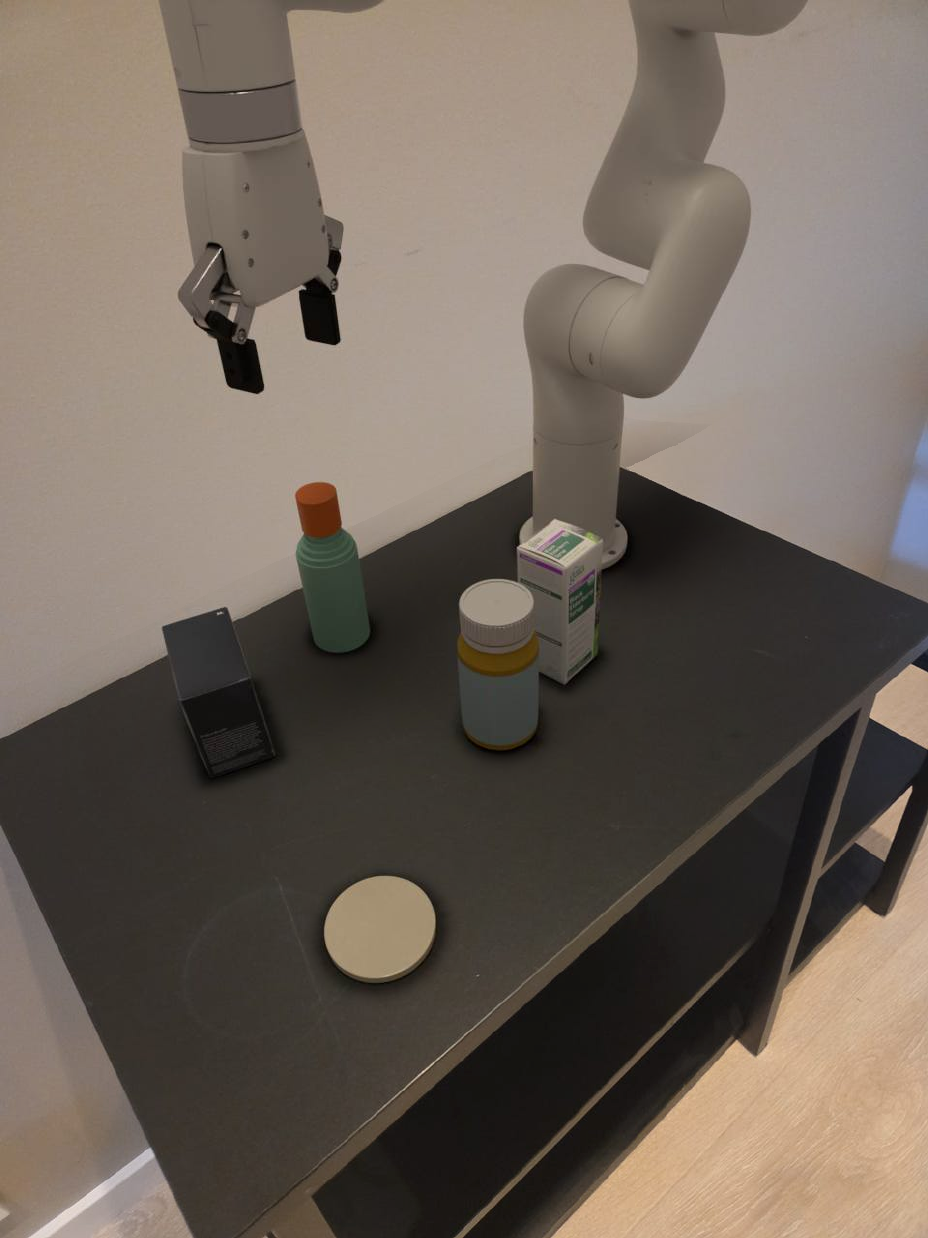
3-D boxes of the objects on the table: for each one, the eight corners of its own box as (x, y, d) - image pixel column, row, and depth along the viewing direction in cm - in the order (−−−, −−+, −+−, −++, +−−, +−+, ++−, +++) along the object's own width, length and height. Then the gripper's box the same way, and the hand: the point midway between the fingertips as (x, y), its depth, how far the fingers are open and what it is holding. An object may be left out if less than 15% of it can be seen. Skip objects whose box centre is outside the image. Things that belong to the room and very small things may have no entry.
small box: (187, 704, 85) (157, 623, 78) (252, 684, 87) (228, 603, 80) (206, 781, 77) (175, 699, 71) (278, 757, 79) (254, 674, 72)
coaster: (346, 873, 70) (344, 867, 69) (447, 890, 68) (447, 885, 67) (309, 971, 63) (307, 966, 63) (420, 993, 62) (419, 988, 61)
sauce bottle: (324, 612, 95) (298, 478, 84) (377, 618, 94) (357, 482, 83) (305, 649, 90) (274, 512, 79) (360, 656, 89) (336, 517, 78)
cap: (310, 513, 85) (303, 480, 83) (347, 516, 84) (342, 483, 82) (295, 535, 82) (288, 502, 80) (334, 539, 81) (328, 505, 79)
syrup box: (565, 687, 84) (569, 567, 75) (517, 661, 87) (515, 544, 78) (598, 655, 88) (606, 537, 78) (551, 631, 91) (553, 515, 81)
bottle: (532, 759, 78) (532, 633, 68) (455, 749, 79) (445, 625, 69) (542, 703, 83) (544, 579, 73) (470, 695, 84) (463, 572, 74)
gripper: (279, 90, 64) (314, 319, 75) (102, 139, 53) (173, 400, 64) (364, 95, 61) (386, 332, 72) (195, 148, 50) (252, 421, 61)
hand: (286, 364), depth 68 cm, fingers open, 9 cm apart
